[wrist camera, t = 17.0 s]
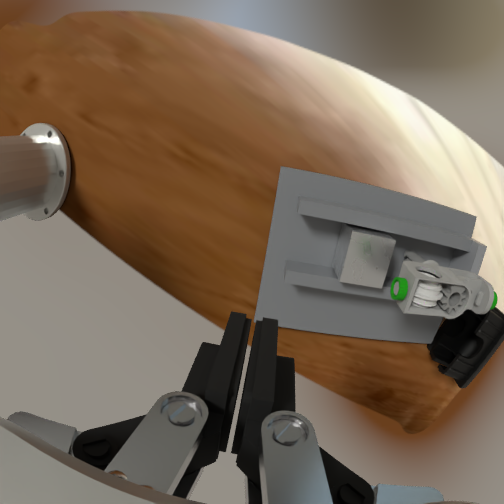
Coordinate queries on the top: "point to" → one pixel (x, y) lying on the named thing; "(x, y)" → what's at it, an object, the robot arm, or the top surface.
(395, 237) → the grey railed base plate
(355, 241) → the grey matte cube
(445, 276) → the mechanical component
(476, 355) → the end cap
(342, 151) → the top surface
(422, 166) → the top surface
